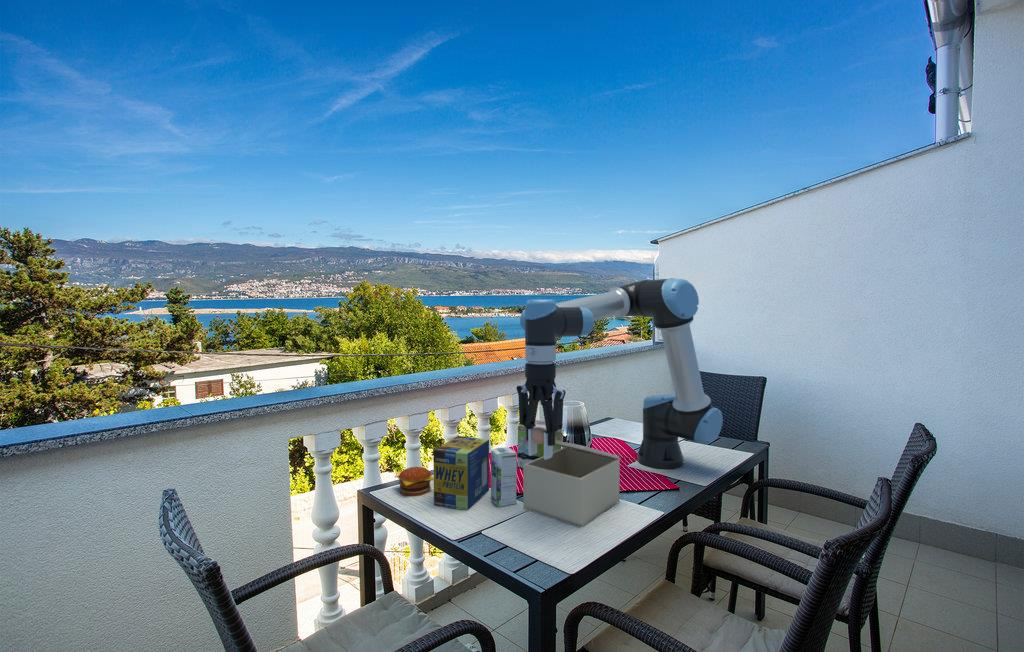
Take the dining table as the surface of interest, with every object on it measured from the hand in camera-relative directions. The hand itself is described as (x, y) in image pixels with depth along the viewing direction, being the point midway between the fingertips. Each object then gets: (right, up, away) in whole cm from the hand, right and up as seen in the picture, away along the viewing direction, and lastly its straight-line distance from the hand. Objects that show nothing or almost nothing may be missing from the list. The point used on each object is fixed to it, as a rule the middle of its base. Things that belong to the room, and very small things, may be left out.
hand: (540, 455), depth 121 cm
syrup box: (-9, -17, +15) cm, 24 cm away
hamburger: (-36, -17, +23) cm, 46 cm away
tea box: (+4, -16, +43) cm, 46 cm away
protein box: (-21, -17, +18) cm, 32 cm away
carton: (+9, -17, +12) cm, 23 cm away
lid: (+7, -1, +8) cm, 11 cm away
